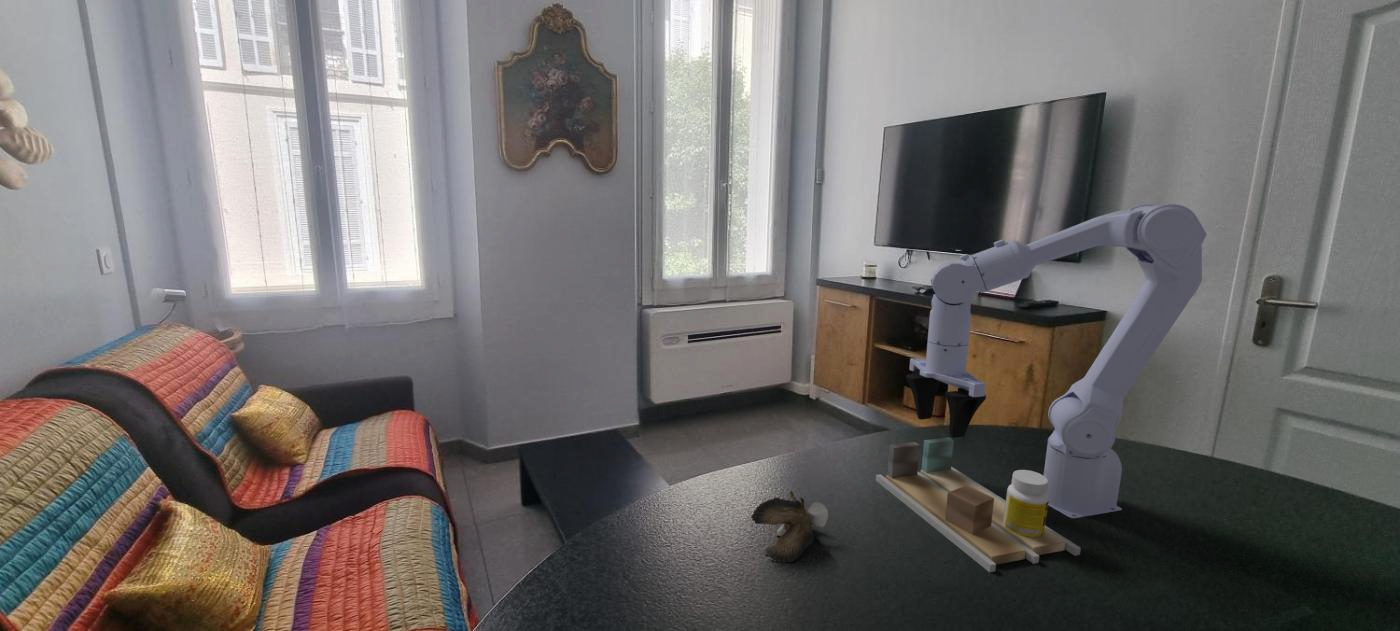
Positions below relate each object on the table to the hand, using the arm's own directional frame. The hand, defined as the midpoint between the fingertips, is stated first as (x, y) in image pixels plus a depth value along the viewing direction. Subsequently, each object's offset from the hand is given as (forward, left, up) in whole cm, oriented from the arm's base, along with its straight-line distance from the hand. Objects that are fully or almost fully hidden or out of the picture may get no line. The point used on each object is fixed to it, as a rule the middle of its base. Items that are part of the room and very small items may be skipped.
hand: (940, 427), depth 89 cm
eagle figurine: (+29, +9, -10) cm, 32 cm away
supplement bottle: (-1, +16, -9) cm, 19 cm away
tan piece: (-1, +10, -9) cm, 13 cm away
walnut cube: (+6, +14, -8) cm, 17 cm away
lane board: (+3, +10, -9) cm, 14 cm away
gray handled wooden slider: (+6, +10, -9) cm, 14 cm away
